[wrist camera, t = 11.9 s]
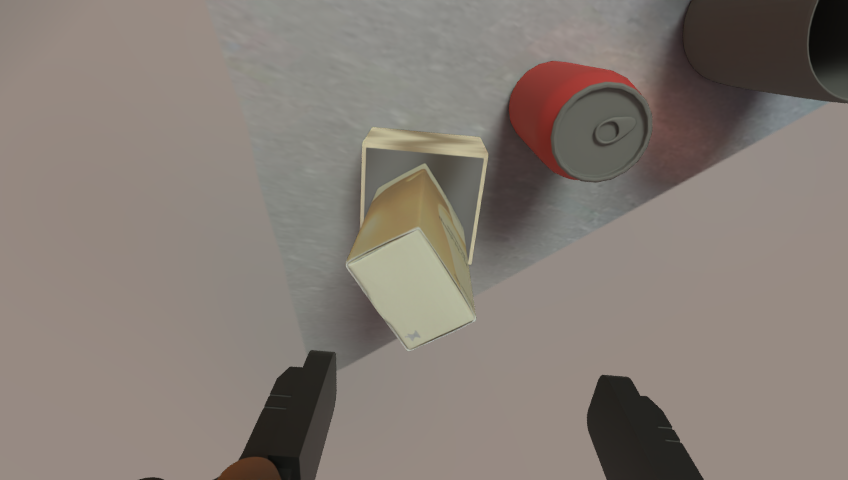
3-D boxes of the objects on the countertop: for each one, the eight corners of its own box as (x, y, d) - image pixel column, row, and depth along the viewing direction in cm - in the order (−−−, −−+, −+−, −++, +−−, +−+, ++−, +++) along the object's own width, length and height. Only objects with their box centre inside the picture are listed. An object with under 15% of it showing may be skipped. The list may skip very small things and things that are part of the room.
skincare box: (465, 229, 33) (483, 325, 22) (416, 253, 34) (410, 358, 23) (423, 157, 31) (420, 224, 19) (372, 185, 32) (341, 266, 20)
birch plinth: (479, 137, 36) (488, 155, 30) (465, 234, 40) (471, 265, 34) (372, 127, 36) (362, 143, 30) (368, 226, 39) (358, 256, 34)
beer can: (597, 127, 35) (671, 167, 25) (520, 156, 37) (558, 207, 26) (579, 46, 33) (652, 50, 22) (496, 80, 34) (528, 100, 23)
